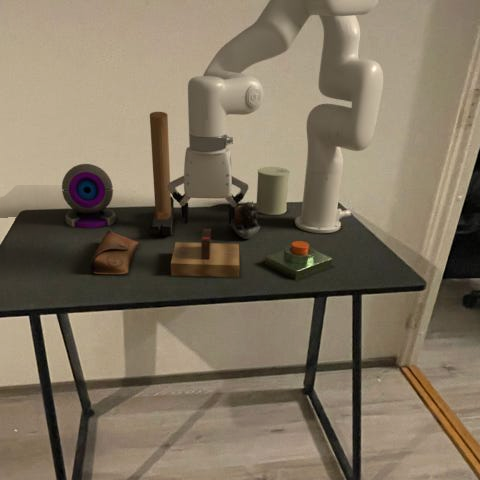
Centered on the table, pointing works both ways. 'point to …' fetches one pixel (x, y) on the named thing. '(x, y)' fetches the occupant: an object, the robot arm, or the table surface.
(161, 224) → the hammer
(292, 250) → the button
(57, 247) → the table surface
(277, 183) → the can
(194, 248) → the light wood flat block
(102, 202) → the webcam
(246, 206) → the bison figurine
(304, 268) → the button box
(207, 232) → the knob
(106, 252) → the sunglasses case
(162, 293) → the table surface
